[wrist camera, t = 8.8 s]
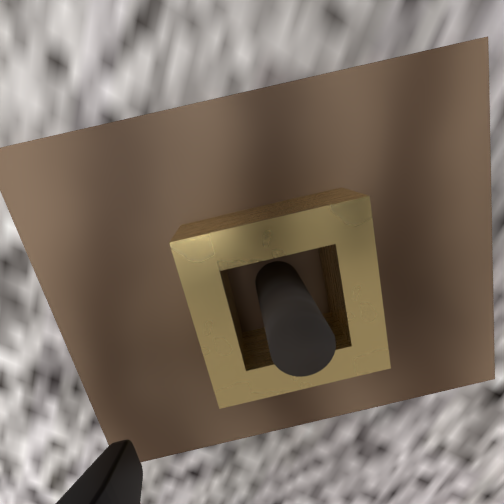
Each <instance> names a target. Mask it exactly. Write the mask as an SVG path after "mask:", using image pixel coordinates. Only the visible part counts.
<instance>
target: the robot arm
mask: <svg viewBox="0 0 504 504" xmlns="http://www.w3.org/2000/svg"><path fill="white" fill-rule="evenodd" d="M142 479H143V470H142V465H141V463H140V460H139V458H138V455H137V453H136V450H135V448H134V445H133V443H132V441H131V440H129V439H126V440H122V441H117V442H114V443H112V444H110V445H109V446H108V447H107V449H106V450H105V451H104V452H103V453H102V454H101V455H100V456H99V457H98V458H97V459H96V460H95V462H94V463H93V464H92V465H91V466H90V467H89V468H88V469H87V470H86V471H85V472H84V473H83V475H82V476H81V477H80V478H79V479H78V480H77V481H76V482H75V483H74V484H73V485H72V487H71V488H70V489H69V490H68V491H67V492H66V493H65V494H64V495H63V496H62V497H61V498H60V500H59V501H58V502H57V503H56V504H140V498H141V489H142Z"/></svg>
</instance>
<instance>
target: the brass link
mask: <svg viewBox="0 0 504 504" xmlns="http://www.w3.org/2000/svg"><path fill="white" fill-rule="evenodd" d="M169 244H170V247H171V251H172V254H173V257H174V260H175V264H176V267H177V270H178V274H179V277H180V280H181V284H182V287H183V290H184V294H185V297H186V300H187V303H188V307H189V310H190V313H191V317H192V320H193V323H194V327H195V330H196V333H197V337H198V340H199V343H200V346H201V350H202V353H203V356H204V360H205V363H206V366H207V370H208V373H209V376H210V379H211V383H212V386H213V389H214V393H215V396H216V399H217V403H218V406H219V409H221V408H226V407H230V406H234V405H238V404H242V403H247V402H251V401H255V400H259V399H264V398H268V397H272V396H276V395H280V394H285V393H289V392H293V391H297V390H301V389H306V388H310V387H314V386H318V385H323V384H327V383H331V382H335V381H339V380H344V379H348V378H352V377H356V376H361V375H365V374H369V373H373V372H377V371H382V370H386V369H390V368H391V365H390V357H389V349H388V341H387V333H386V324H385V316H384V308H383V300H382V292H381V284H380V276H379V268H378V260H377V252H376V244H375V235H374V227H373V219H372V211H371V203H370V196H369V195H365V194H362V193H359V192H355V191H352V190H349V189H345V188H342V187H341V188H337V189H332V190H328V191H324V192H319V193H315V194H311V195H307V196H302V197H298V198H294V199H290V200H285V201H281V202H277V203H272V204H268V205H264V206H260V207H255V208H251V209H247V210H242V211H238V212H234V213H230V214H225V215H221V216H217V217H212V218H208V219H204V220H200V221H195V222H191V223H187V224H182V225H180V226H179V228H178V230H177V231H176V233H175V234H174V236H173V237H172V239H171V240H170V242H169ZM316 248H319V253H320V259H321V265H322V270H323V276H324V282H325V288H326V293H327V299H328V305H329V311H330V312H328V313H323V314H322V315H323V317H324V318H325V320H326V322H327V323H328V325H329V327H330V328H331V330H332V332H333V334H334V336H335V340H336V349H335V353H334V356H333V358H332V360H331V361H330V363H329V364H328V365H327V366H326V367H325V368H324V369H322V370H321V371H319V372H317V373H315V374H313V375H309V376H304V377H296V376H291V375H288V374H286V373H284V372H282V371H281V370H279V369H278V368H277V367H276V366H275V364H274V363H273V361H272V358H271V355H270V350H269V346H268V341H267V337H266V332H265V327H264V328H260V329H255V330H251V331H247V332H242V329H241V325H240V321H239V317H238V313H237V309H236V305H235V302H234V298H233V294H232V290H231V286H230V282H229V278H228V275H227V271H226V269H231V268H235V267H239V266H243V265H248V264H252V263H256V262H260V261H265V260H269V259H273V258H277V257H282V256H286V255H290V254H294V253H299V252H303V251H307V250H312V249H316Z"/></svg>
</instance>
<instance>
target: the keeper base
mask: <svg viewBox="0 0 504 504" xmlns="http://www.w3.org/2000/svg"><path fill="white" fill-rule="evenodd" d="M341 187H342V188H345V189H349V190H352V191H355V192H359V193H362V194H365V195H369V196H370V203H371V211H372V219H373V227H374V235H375V244H376V252H377V260H378V268H379V276H380V284H381V292H382V300H383V308H384V316H385V324H386V333H387V341H388V349H389V357H390V365H391V368H390V369H386V370H382V371H377V372H373V373H369V374H365V375H361V376H356V377H352V378H348V379H344V380H339V381H335V382H331V383H327V384H323V385H318V386H314V387H310V388H306V389H301V390H297V391H293V392H289V393H285V394H280V395H276V396H272V397H268V398H264V399H259V400H255V401H251V402H247V403H242V404H238V405H234V406H230V407H226V408H221V409H219V406H218V403H217V399H216V396H215V393H214V389H213V386H212V383H211V379H210V376H209V373H208V370H207V366H206V363H205V360H204V356H203V353H202V350H201V346H200V343H199V340H198V337H197V333H196V330H195V327H194V323H193V320H192V317H191V313H190V310H189V307H188V303H187V300H186V297H185V294H184V290H183V287H182V284H181V280H180V277H179V274H178V270H177V267H176V264H175V260H174V257H173V254H172V251H171V247H170V244H169V242H170V240H171V239H172V237H173V236H174V234H175V233H176V231H177V230H178V228H179V226H180V225H182V224H187V223H191V222H195V221H200V220H204V219H208V218H212V217H217V216H221V215H225V214H230V213H234V212H238V211H242V210H247V209H251V208H255V207H260V206H264V205H268V204H272V203H277V202H281V201H285V200H290V199H294V198H298V197H302V196H307V195H311V194H315V193H319V192H324V191H328V190H332V189H337V188H341ZM0 191H1V193H2V196H3V198H4V200H5V203H6V205H7V207H8V210H9V212H10V214H11V217H12V219H13V222H14V224H15V226H16V229H17V231H18V233H19V236H20V238H21V240H22V243H23V245H24V247H25V250H26V252H27V254H28V257H29V259H30V261H31V264H32V266H33V268H34V271H35V273H36V275H37V278H38V280H39V283H40V285H41V287H42V290H43V292H44V294H45V297H46V299H47V301H48V304H49V306H50V308H51V311H52V313H53V315H54V318H55V320H56V322H57V325H58V327H59V329H60V332H61V334H62V336H63V339H64V341H65V343H66V346H67V348H68V351H69V353H70V355H71V358H72V360H73V362H74V365H75V367H76V369H77V372H78V374H79V376H80V379H81V381H82V383H83V386H84V388H85V390H86V393H87V395H88V397H89V400H90V402H91V404H92V407H93V409H94V412H95V414H96V416H97V419H98V421H99V423H100V426H101V428H102V430H103V433H104V435H105V437H106V440H107V442H108V444H109V445H110V444H112V443H114V442H117V441H122V440H126V439H129V440H131V441H132V443H133V445H134V448H135V450H136V453H137V455H138V458H139V460H140V462H144V461H148V460H152V459H157V458H161V457H165V456H169V455H174V454H178V453H182V452H186V451H191V450H195V449H199V448H203V447H208V446H212V445H216V444H220V443H225V442H229V441H233V440H237V439H242V438H246V437H250V436H254V435H259V434H263V433H267V432H271V431H276V430H280V429H284V428H288V427H293V426H297V425H301V424H305V423H310V422H314V421H318V420H322V419H327V418H331V417H335V416H339V415H344V414H348V413H352V412H356V411H361V410H365V409H369V408H373V407H378V406H382V405H386V404H390V403H395V402H399V401H403V400H407V399H412V398H416V397H420V396H424V395H429V394H433V393H437V392H441V391H446V390H450V389H454V388H458V387H463V386H467V385H471V384H475V383H480V382H484V381H488V380H492V379H495V363H494V311H493V260H492V208H491V157H490V105H489V53H488V37H484V38H479V39H475V40H470V41H466V42H462V43H457V44H453V45H449V46H444V47H440V48H435V49H431V50H427V51H422V52H418V53H413V54H409V55H405V56H400V57H396V58H392V59H387V60H383V61H378V62H374V63H370V64H365V65H361V66H356V67H352V68H348V69H343V70H339V71H335V72H330V73H326V74H321V75H317V76H313V77H308V78H304V79H300V80H295V81H291V82H286V83H282V84H278V85H273V86H269V87H264V88H260V89H256V90H251V91H247V92H243V93H238V94H234V95H229V96H225V97H221V98H216V99H212V100H207V101H203V102H199V103H194V104H190V105H186V106H181V107H177V108H172V109H168V110H164V111H159V112H155V113H151V114H146V115H142V116H137V117H133V118H129V119H124V120H120V121H115V122H111V123H107V124H102V125H98V126H94V127H89V128H85V129H80V130H76V131H72V132H67V133H63V134H58V135H54V136H50V137H45V138H41V139H37V140H32V141H28V142H23V143H19V144H15V145H10V146H6V147H1V148H0ZM226 271H227V275H228V278H229V282H230V286H231V290H232V294H233V298H234V302H235V305H236V309H237V313H238V317H239V321H240V325H241V329H242V332H247V331H251V330H255V329H260V328H264V327H265V332H266V337H267V341H268V346H269V350H270V355H271V358H272V361H273V363H274V364H275V366H276V367H277V368H278V369H279V370H281V371H282V372H284V373H286V374H288V375H291V376H296V377H304V376H309V375H313V374H315V373H317V372H319V371H321V370H322V369H324V368H325V367H326V366H327V365H328V364H329V363H330V361H331V360H332V358H333V356H334V353H335V349H336V340H335V336H334V334H333V332H332V330H331V328H330V327H329V325H328V323H327V322H326V320H325V318H324V317H323V315H322V314H323V313H328V312H330V311H329V305H328V299H327V293H326V288H325V282H324V276H323V270H322V265H321V259H320V253H319V248H316V249H312V250H307V251H303V252H299V253H294V254H290V255H286V256H282V257H277V258H273V259H269V260H265V261H260V262H256V263H252V264H248V265H243V266H239V267H235V268H231V269H226Z"/></svg>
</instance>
